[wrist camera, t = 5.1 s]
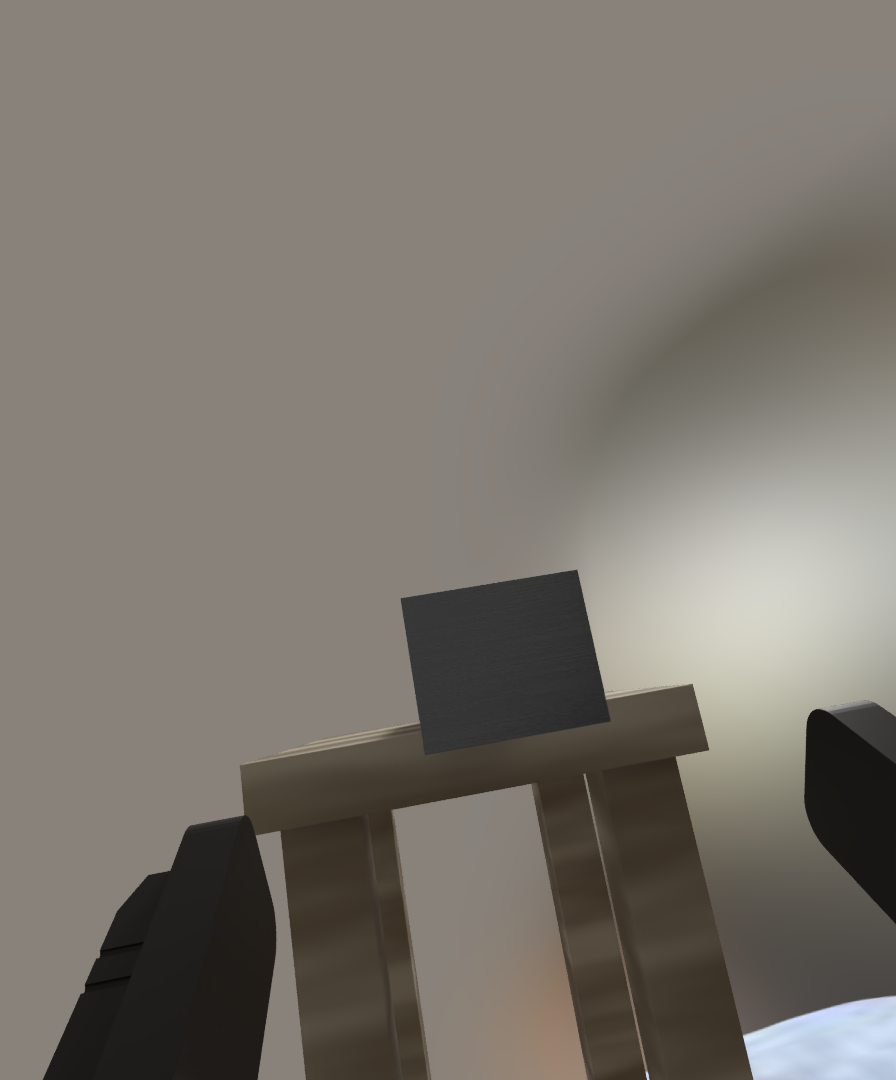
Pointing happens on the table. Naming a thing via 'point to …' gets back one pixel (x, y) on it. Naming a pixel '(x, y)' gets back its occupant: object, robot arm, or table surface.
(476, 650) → the block
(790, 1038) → the table surface
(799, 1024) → the table surface
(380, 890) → the stool
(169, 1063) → the robot arm
